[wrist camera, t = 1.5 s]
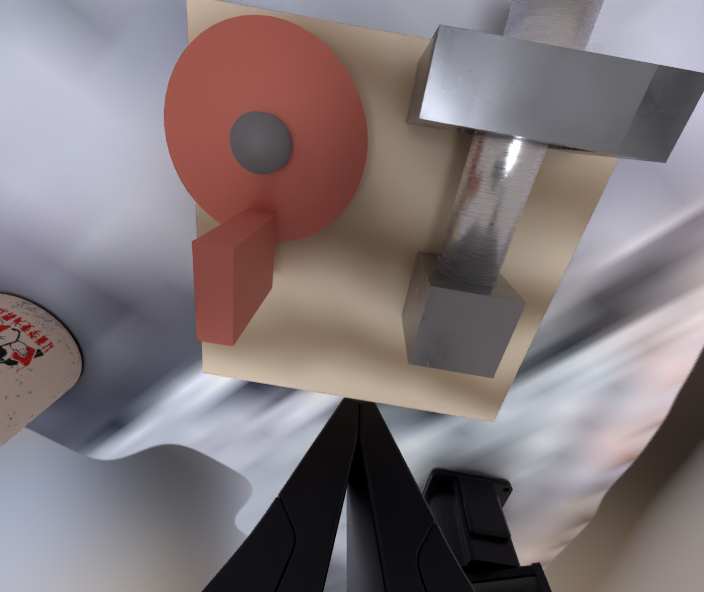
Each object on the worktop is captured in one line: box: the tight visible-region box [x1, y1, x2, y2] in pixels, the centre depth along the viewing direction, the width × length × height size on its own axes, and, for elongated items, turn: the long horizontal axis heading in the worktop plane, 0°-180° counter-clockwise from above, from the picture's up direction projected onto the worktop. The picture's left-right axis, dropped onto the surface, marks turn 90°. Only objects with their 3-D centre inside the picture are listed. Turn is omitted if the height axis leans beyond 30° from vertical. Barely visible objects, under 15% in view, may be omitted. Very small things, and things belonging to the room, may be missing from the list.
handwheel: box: [164, 15, 368, 347], centre depth 13 cm, size 12×9×7 cm
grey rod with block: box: [401, 0, 604, 378], centre depth 14 cm, size 15×4×4 cm, turn 171°
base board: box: [187, 0, 619, 422], centre depth 19 cm, size 20×20×1 cm
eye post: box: [406, 25, 704, 163], centre depth 13 cm, size 2×8×5 cm, turn 81°
